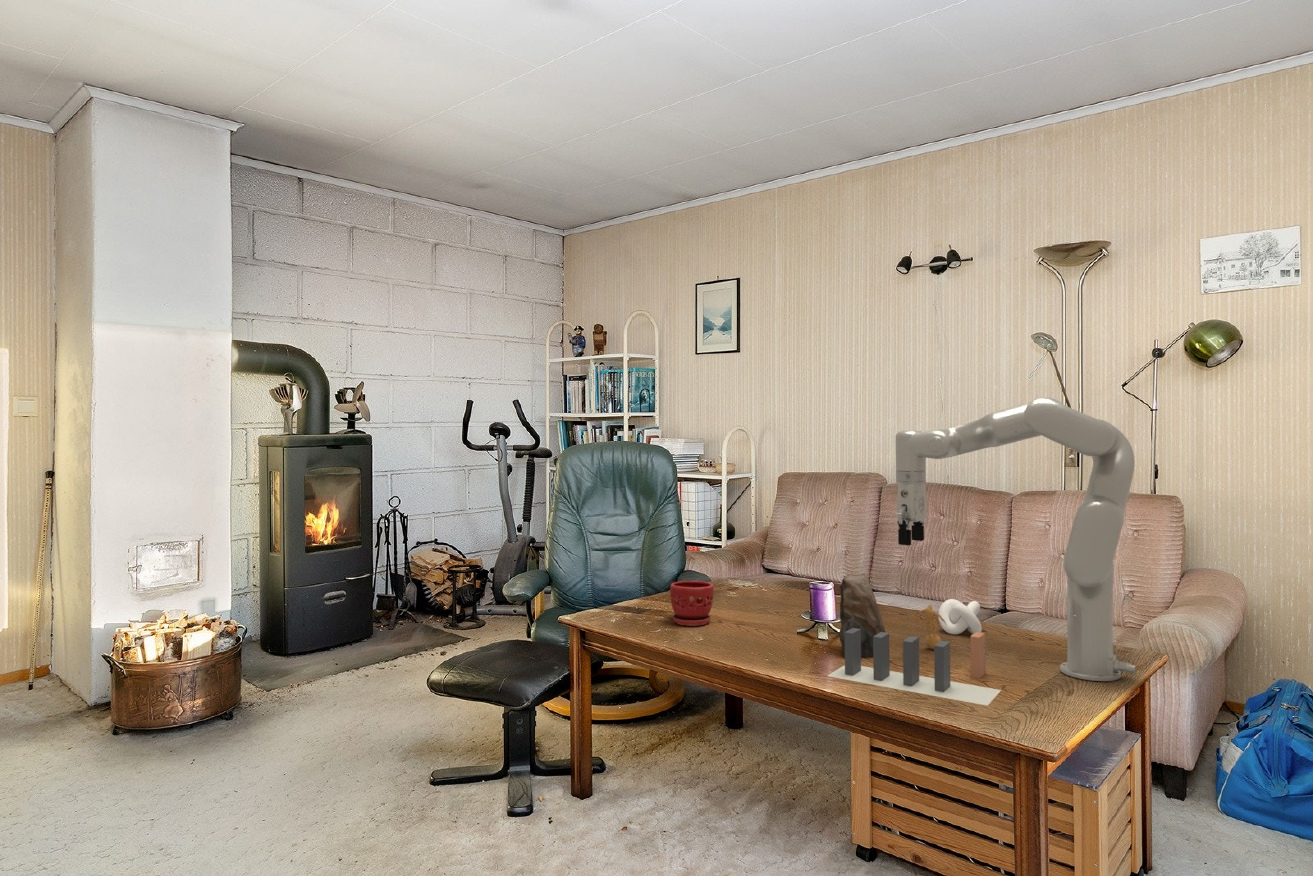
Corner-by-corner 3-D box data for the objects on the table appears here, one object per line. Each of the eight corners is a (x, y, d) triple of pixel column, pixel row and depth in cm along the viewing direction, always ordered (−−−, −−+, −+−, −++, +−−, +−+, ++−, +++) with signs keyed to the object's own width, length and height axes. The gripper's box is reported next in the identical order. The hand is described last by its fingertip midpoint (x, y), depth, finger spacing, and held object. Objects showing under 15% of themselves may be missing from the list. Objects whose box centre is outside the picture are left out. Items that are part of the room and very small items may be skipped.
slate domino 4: (950, 686, 180) (950, 641, 180) (943, 692, 176) (943, 647, 176) (941, 684, 182) (941, 640, 182) (934, 690, 178) (934, 645, 177)
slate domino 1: (861, 670, 193) (860, 629, 193) (853, 675, 189) (852, 633, 189) (853, 669, 194) (852, 627, 194) (844, 674, 190) (844, 632, 190)
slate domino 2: (889, 675, 189) (889, 633, 189) (881, 681, 185) (881, 637, 185) (881, 674, 190) (880, 631, 190) (873, 679, 186) (873, 636, 186)
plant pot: (715, 628, 237) (714, 587, 237) (670, 628, 237) (670, 587, 237) (712, 617, 250) (712, 579, 250) (670, 617, 250) (670, 579, 250)
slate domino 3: (919, 680, 185) (919, 637, 184) (912, 686, 181) (911, 642, 180) (910, 679, 186) (910, 636, 186) (903, 685, 182) (902, 641, 182)
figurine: (951, 650, 211) (951, 604, 210) (942, 655, 206) (942, 608, 206) (921, 644, 216) (921, 600, 216) (911, 649, 212) (911, 604, 212)
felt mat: (1001, 691, 177) (1001, 690, 177) (987, 707, 168) (987, 705, 168) (847, 665, 199) (847, 663, 199) (826, 677, 189) (826, 676, 189)
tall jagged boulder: (843, 660, 202) (842, 581, 202) (827, 647, 215) (826, 572, 215) (891, 658, 204) (890, 580, 203) (873, 645, 216) (872, 571, 216)
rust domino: (985, 675, 189) (984, 633, 189) (979, 680, 185) (979, 637, 185) (976, 673, 191) (976, 631, 190) (970, 679, 187) (970, 636, 186)
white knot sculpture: (939, 636, 224) (939, 604, 224) (937, 626, 236) (937, 596, 236) (982, 639, 221) (982, 607, 221) (979, 628, 232) (978, 597, 232)
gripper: (913, 480, 202) (914, 548, 202) (935, 476, 215) (936, 539, 216) (884, 479, 206) (885, 545, 206) (908, 475, 220) (908, 537, 220)
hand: (911, 542), depth 211 cm, fingers open, 9 cm apart
